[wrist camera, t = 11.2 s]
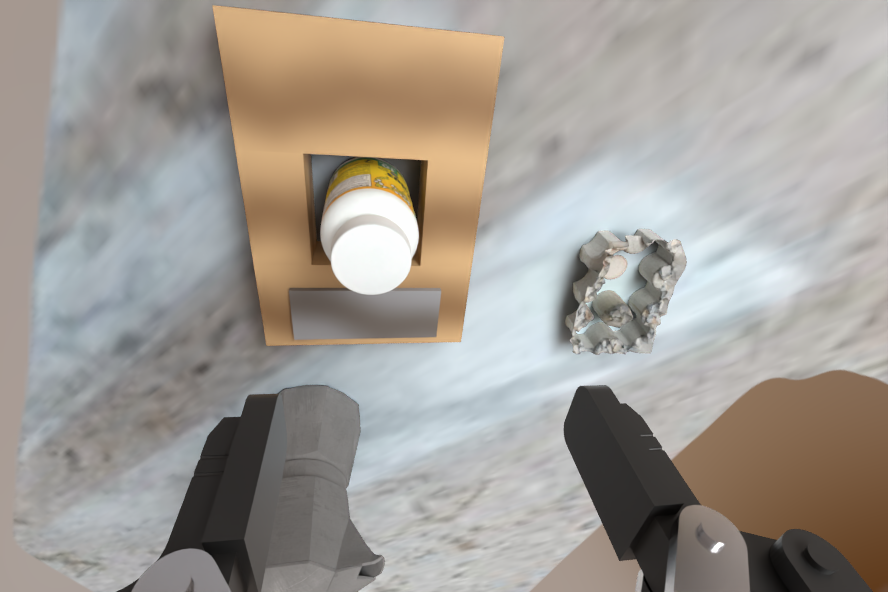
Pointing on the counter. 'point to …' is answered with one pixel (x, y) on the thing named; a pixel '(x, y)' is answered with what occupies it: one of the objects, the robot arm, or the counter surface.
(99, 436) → the counter surface
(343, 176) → the supplement bottle
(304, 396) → the coffeepot
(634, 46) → the counter surface
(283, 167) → the jig
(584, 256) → the egg carton
